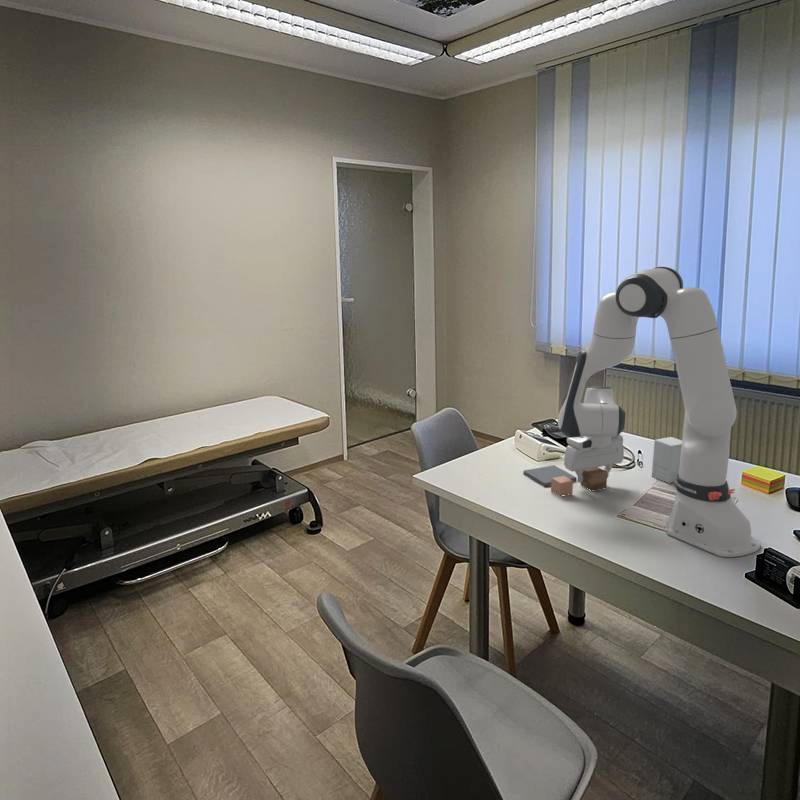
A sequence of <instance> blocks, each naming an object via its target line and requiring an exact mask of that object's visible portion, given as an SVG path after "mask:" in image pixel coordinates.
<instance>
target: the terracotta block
mask: <svg viewBox="0 0 800 800" xmlns="http://www.w3.org/2000/svg"><path fill="white" fill-rule="evenodd" d="M573 488H574V481H572V480H571V479H569V478H567V477H565V476H560V477H555V478H552V481H551V486H550V492H551V491H552V492H551V493H553V492H554V493H556V494H557V495H556V494H555V495H556V496H558V495H559V496H562V495H567V496H569V495H568V494H572V495H573V492H574V491H573V490H574V489H573ZM554 493H553V494H554ZM559 496H558V497H559ZM562 497H563V496H562Z"/></svg>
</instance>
